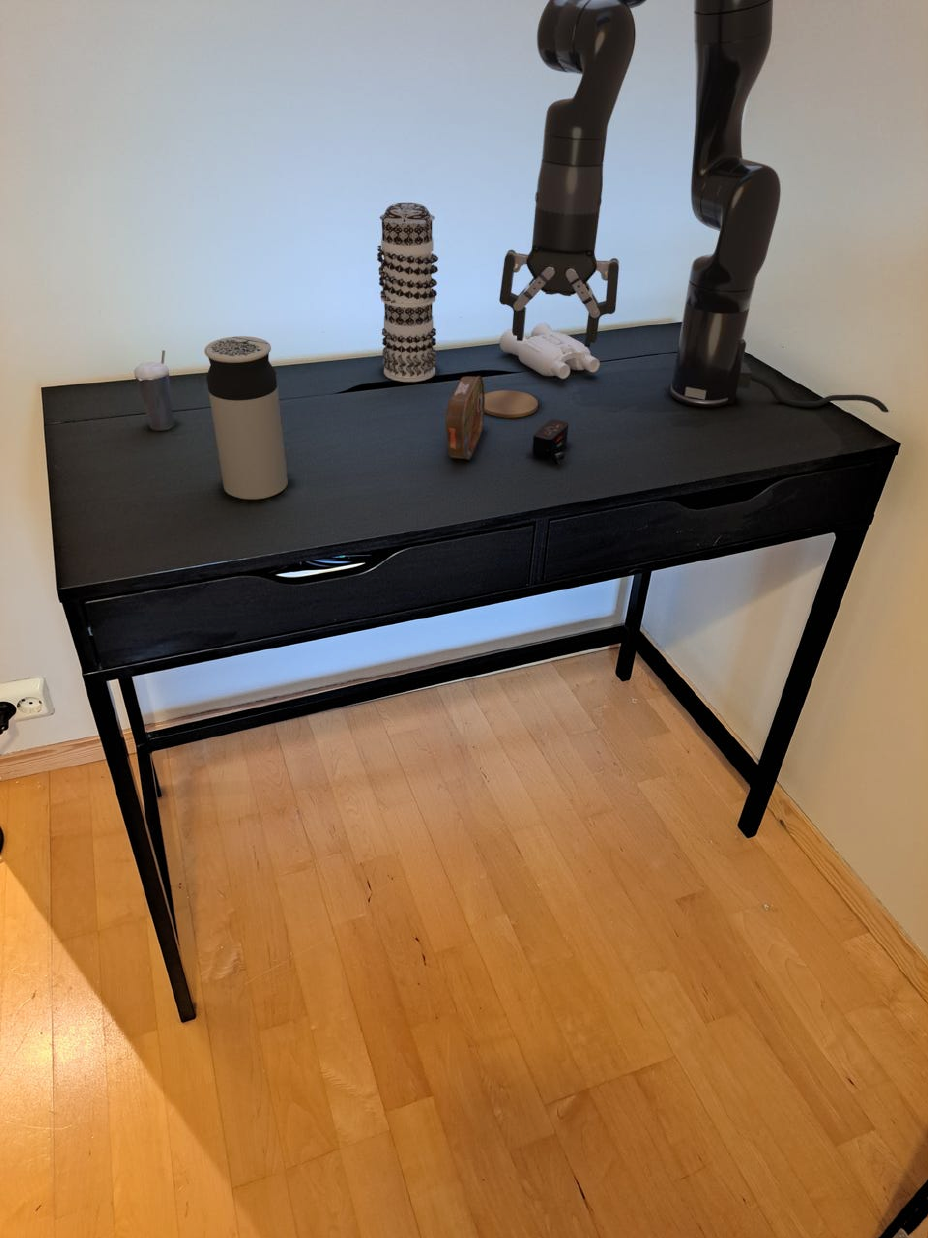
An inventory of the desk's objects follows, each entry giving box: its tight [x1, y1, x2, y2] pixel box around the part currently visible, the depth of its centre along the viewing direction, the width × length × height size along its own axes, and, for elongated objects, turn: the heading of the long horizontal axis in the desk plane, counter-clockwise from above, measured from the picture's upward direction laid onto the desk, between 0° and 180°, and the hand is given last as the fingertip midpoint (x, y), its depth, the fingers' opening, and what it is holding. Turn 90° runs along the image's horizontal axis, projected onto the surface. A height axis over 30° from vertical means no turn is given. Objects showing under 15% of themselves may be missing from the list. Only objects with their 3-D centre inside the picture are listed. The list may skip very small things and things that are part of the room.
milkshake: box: [133, 350, 175, 432], centre depth 125 cm, size 4×5×10 cm
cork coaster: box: [484, 389, 539, 419], centre depth 136 cm, size 9×9×1 cm
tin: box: [445, 375, 485, 461], centre depth 122 cm, size 15×3×8 cm, turn 168°
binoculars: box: [499, 322, 601, 380], centre depth 148 cm, size 10×16×5 cm, turn 30°
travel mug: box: [203, 335, 289, 500], centre depth 108 cm, size 8×8×18 cm
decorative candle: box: [376, 202, 439, 383], centre depth 138 cm, size 9×9×25 cm
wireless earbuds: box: [531, 418, 570, 465], centre depth 122 cm, size 5×7×3 cm, turn 151°
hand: (553, 341), depth 114 cm, fingers open, 8 cm apart
